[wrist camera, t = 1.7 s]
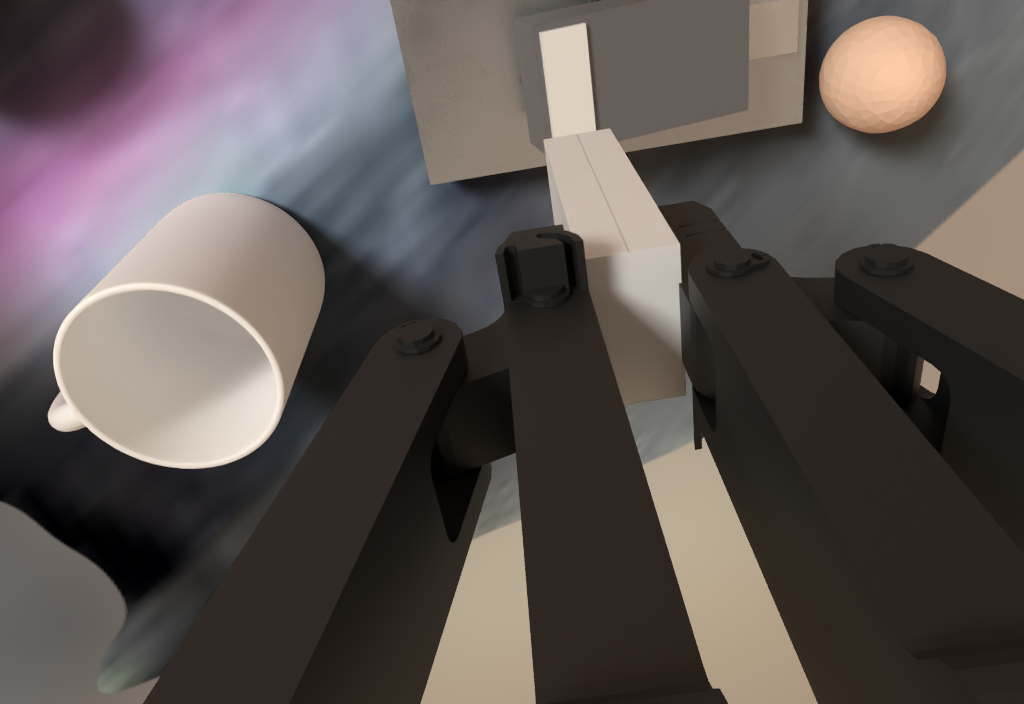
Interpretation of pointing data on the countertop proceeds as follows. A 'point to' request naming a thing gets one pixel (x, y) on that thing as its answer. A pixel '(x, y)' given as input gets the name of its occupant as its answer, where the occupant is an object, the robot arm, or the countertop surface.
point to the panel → (499, 94)
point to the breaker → (632, 66)
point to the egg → (882, 74)
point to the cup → (193, 335)
